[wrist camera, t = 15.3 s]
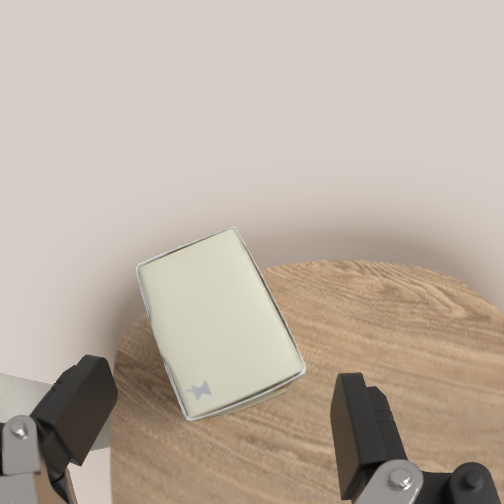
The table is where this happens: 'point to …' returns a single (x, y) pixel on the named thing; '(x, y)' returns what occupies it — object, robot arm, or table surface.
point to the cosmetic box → (218, 326)
